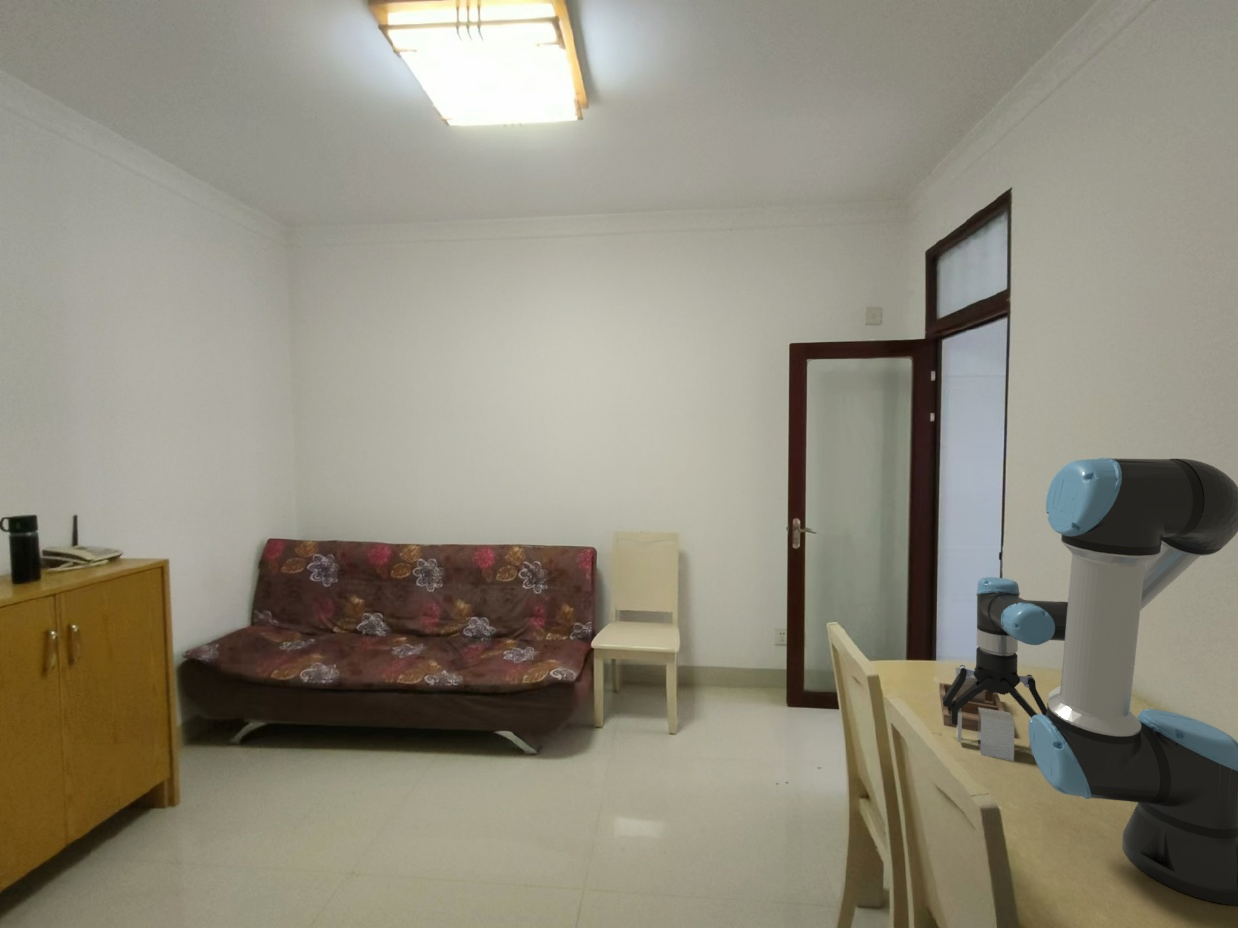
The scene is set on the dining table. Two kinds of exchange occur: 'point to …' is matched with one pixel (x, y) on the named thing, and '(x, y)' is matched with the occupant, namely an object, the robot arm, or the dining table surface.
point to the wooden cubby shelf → (969, 709)
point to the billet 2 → (996, 734)
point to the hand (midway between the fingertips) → (994, 745)
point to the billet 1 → (967, 684)
